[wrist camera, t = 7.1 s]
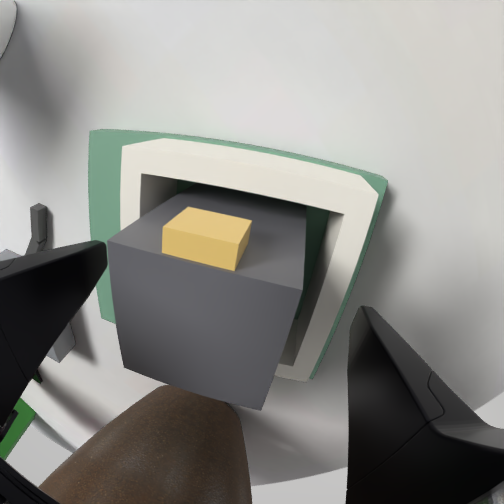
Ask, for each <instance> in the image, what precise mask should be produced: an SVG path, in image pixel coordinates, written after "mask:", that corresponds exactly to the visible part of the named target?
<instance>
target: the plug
mask: <svg viewBox="0 0 504 504" xmlns="http://www.w3.org/2000/svg"><path fill="white" fill-rule="evenodd" d="M306 209H307V205H303V204H299V203H294V202H290V201H286V200H281V199H277V198H272V197H268V196H263V195H258V194H254V193H249V192H244V191H239V190H234V189H229V188H224V187H219V186H214V185H208V184H203V183H198V182H197V183H195V184H194V185H192V186H190V187H189V188H187V189H185V190H184V191H182V192H180V193H179V194H177V195H175V196H174V197H172V198H170V199H169V200H167V201H166V202H164V203H162V204H161V205H159V206H158V207H156V208H155V209H153V210H151V211H150V212H148V213H147V214H145V215H144V216H142V217H141V218H139V219H138V220H136V221H135V222H133V223H132V224H130V225H129V226H127V227H126V228H124V229H123V230H121V231H120V232H118V233H117V234H115V235H114V236H113V237H111V238H110V239H108V240H107V249H108V262H109V274H110V283H111V292H112V300H113V308H114V315H115V321H116V328H117V334H118V339H119V345H120V350H121V355H122V360H123V365H124V368H127V369H129V370H132V371H134V372H137V373H139V374H142V375H144V376H147V377H150V378H152V379H155V380H158V381H160V382H163V383H166V384H169V385H172V386H175V387H178V388H181V389H184V390H187V391H190V392H193V393H196V394H199V395H203V396H206V397H209V398H213V399H216V400H220V401H224V402H227V403H231V404H235V405H239V406H243V407H247V408H251V409H256V410H260V411H261V409H262V407H263V404H264V402H265V399H266V396H267V394H268V391H269V388H270V386H271V383H272V380H273V377H274V375H275V372H276V369H277V366H278V363H279V360H280V358H281V355H282V352H283V349H284V346H285V343H286V340H287V337H288V334H289V331H290V328H291V325H292V322H293V319H294V316H295V313H296V310H297V307H298V303H299V300H300V297H301V294H302V291H303V277H304V259H305V237H306Z"/></svg>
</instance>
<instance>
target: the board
mask: <svg viewBox="0 0 504 504" xmlns="http://www.w3.org/2000/svg"><path fill="white" fill-rule="evenodd" d="M197 182H198V183H203V184H208V185H214V186H219V187H224V188H229V189H234V190H239V191H244V192H249V193H254V194H258V195H263V196H268V197H272V198H277V199H281V200H286V201H290V202H294V203H299V204H303V205H307V209H306V237H305V259H304V277H303V291H302V294H301V297H300V300H299V303H298V307H297V310H296V313H295V316H294V319H293V322H292V325H291V328H290V331H289V334H288V337H287V340H286V343H285V346H284V349H283V352H282V355H281V358H280V360H279V363H278V366H277V369H276V372H275V375H274V376H276V377H281V378H286V379H291V380H296V381H301V382H307V381H308V379H313V377H314V375H315V373H316V371H317V369H318V367H319V365H320V363H321V361H322V359H323V356H324V354H325V352H326V350H327V348H328V346H329V343H330V341H331V339H332V337H333V334H334V332H335V330H336V327H337V325H338V323H339V320H340V318H341V316H342V313H343V311H344V308H345V306H346V304H347V301H348V299H349V296H350V294H351V291H352V288H353V286H354V283H355V281H356V278H357V275H358V273H359V270H360V267H361V264H362V262H363V259H364V256H365V253H366V250H367V247H368V244H369V241H370V239H371V236H372V232H373V229H374V226H375V223H376V220H377V217H378V214H379V210H380V207H381V204H382V200H383V197H384V193H385V190H386V186H387V183H388V180H386V179H385V178H384V177H382V176H380V175H377V174H373V173H370V172H367V171H363V170H360V169H356V168H352V167H349V166H345V165H341V164H337V163H333V162H329V161H325V160H321V159H317V158H313V157H309V156H304V155H300V154H295V153H290V152H286V151H281V150H276V149H271V148H266V147H260V146H255V145H249V144H243V143H237V142H231V141H224V140H218V139H211V138H203V137H195V136H187V135H178V134H169V133H158V132H146V131H132V130H113V129H100V130H93V131H90V135H89V160H88V194H89V219H90V234H91V241H93V240H99V241H102V242H105V244H106V246H107V240H108V239H110V238H111V237H113V236H114V235H115V234H117V233H118V232H120V231H121V230H123V229H124V228H126V227H127V226H129V225H130V224H132V223H133V222H135V221H136V220H138V219H139V218H141V217H142V216H144V215H145V214H147V213H148V212H150V211H151V210H153V209H155V208H156V207H158V206H159V205H161V204H162V203H164V202H166V201H167V200H169V199H170V198H172V197H174V196H175V195H177V194H179V193H180V192H182V191H184V190H185V189H187V188H189V187H190V186H192V185H194V184H195V183H197ZM107 258H108V249H107ZM96 288H97V294H98V301H99V306H100V312H101V318H102V319H105V320H107V321H110V322H112V323H115V324H116V321H115V315H114V308H113V300H112V292H111V283H110V274H109V262H108V265H107V268H106V270H105V272H104V273H103V275H102V276H101V278H100V279H99V281H98V282H97V284H96Z"/></svg>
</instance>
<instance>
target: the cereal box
mask: <svg viewBox="0 0 504 504" xmlns="http://www.w3.org/2000/svg"><path fill="white" fill-rule="evenodd" d="M14 409H15V410H16V411H17V412H18V413H19V414H18V415H17V417H16V419H15V420H14V422H13V424H12V425H11V427H10V429H9V430H8V432H7V434H6V436H5V437H4V439H3V440H2V442H1V443H0V456H1V457H2V458H3V459H4V460H6V458H7V457H8V455H9V454H10V452H11V451H12V449H13V448H14V447H15V445H16V444H17V442H18V441H19V439H20V438H21V436H22V435H23V433H24V432H25V431H26V429H27V428H28V427H29V425H30V424H31V422H32V421H33V420H34V417H35V414H36V412H35V411H34V410H33V409H32V408H31V407H30V406H29V405H27V404H26V403H25V402H24V401H23V400H22V399H21V398H19V400H18V402H17V403H16V405H15V407H14Z"/></svg>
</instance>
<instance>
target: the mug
mask: <svg viewBox="0 0 504 504" xmlns="http://www.w3.org/2000/svg"><path fill="white" fill-rule="evenodd" d="M16 12H17V8H16V4H15V2H14V1H13V0H0V58H1V56H2V54H3V53H4V51H5V49H6V47H7V44H8V42H9V39H10V37H11V34H12V31H13V28H14V24H15V20H16Z"/></svg>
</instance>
